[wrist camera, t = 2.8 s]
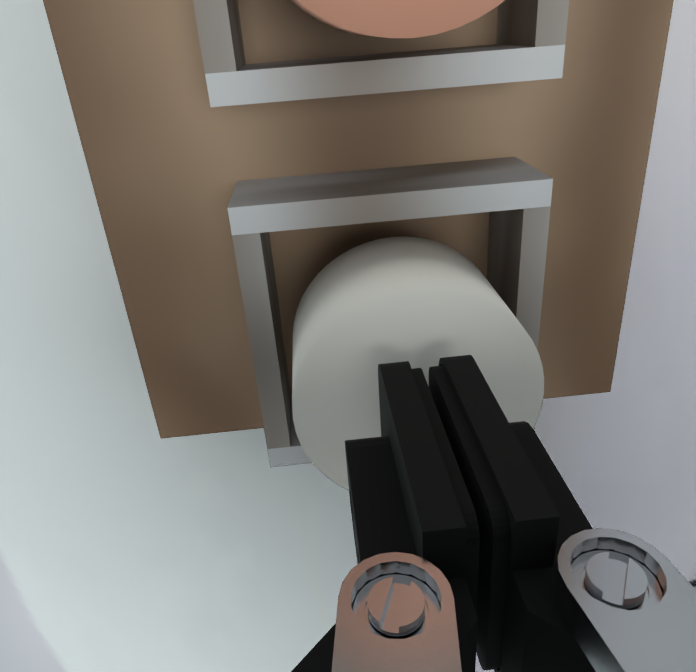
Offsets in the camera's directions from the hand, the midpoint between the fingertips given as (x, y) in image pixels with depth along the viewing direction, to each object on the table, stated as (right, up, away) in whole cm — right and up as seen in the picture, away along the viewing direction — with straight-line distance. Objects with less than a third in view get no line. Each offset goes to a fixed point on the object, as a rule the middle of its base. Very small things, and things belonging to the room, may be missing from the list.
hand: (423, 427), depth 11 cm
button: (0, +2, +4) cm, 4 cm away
